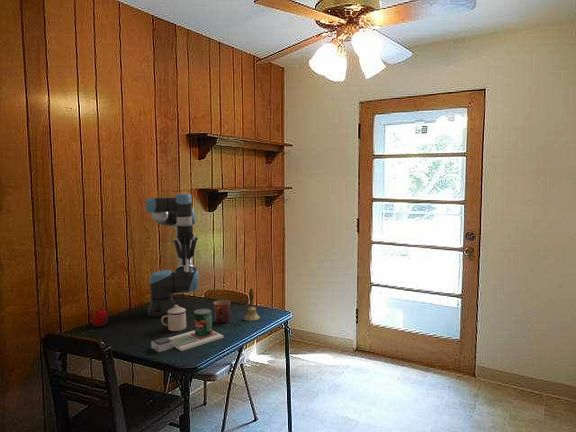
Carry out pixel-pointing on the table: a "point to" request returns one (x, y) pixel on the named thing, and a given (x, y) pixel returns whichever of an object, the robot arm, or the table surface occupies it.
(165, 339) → the button
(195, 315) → the canned tomato
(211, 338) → the picture board
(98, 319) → the red clay folk toy
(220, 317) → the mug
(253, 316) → the hand bell
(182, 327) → the teacup with lid
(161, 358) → the table surface
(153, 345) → the button base
